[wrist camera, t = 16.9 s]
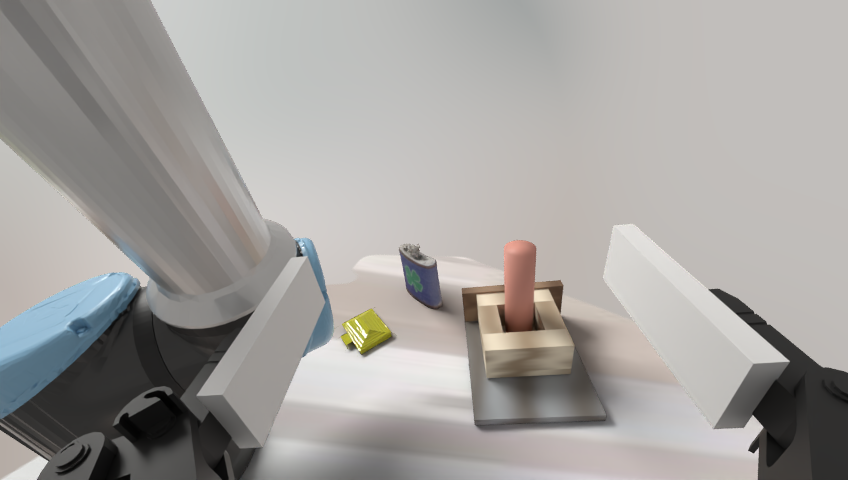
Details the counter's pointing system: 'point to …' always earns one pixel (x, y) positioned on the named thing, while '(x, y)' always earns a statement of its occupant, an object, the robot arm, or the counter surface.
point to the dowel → (519, 285)
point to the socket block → (524, 339)
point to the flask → (421, 276)
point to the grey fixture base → (526, 380)
